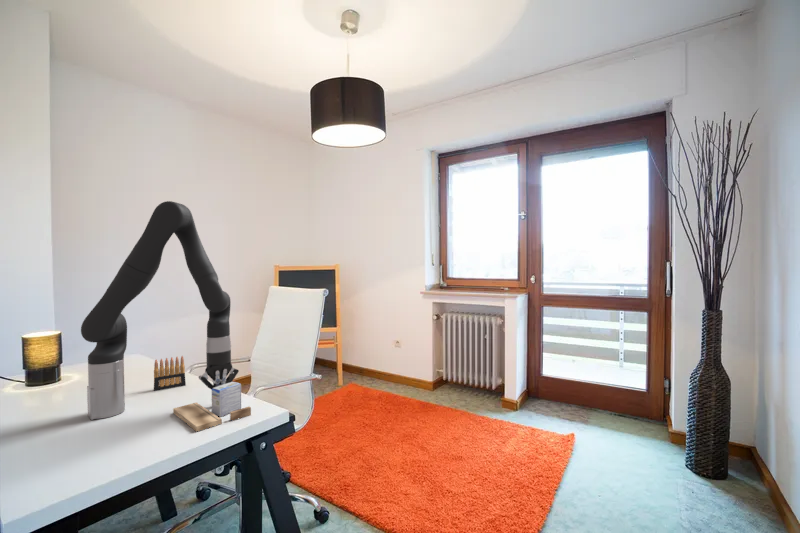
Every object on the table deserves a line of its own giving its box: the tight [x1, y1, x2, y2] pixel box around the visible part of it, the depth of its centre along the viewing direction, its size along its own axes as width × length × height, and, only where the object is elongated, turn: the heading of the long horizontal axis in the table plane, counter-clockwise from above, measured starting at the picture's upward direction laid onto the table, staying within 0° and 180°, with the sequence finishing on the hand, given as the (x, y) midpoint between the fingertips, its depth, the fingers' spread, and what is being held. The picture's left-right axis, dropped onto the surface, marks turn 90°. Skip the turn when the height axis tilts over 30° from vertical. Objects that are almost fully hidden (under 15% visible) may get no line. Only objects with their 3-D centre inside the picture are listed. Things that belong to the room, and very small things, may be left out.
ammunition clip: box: [153, 355, 187, 392], centre depth 148 cm, size 11×2×12 cm, turn 127°
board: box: [172, 402, 223, 433], centre depth 117 cm, size 7×21×2 cm, turn 47°
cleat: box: [229, 406, 252, 421], centre depth 117 cm, size 6×1×2 cm, turn 137°
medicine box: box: [211, 381, 242, 418], centre depth 122 cm, size 8×4×9 cm, turn 151°
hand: (219, 399), depth 128 cm, fingers closed
